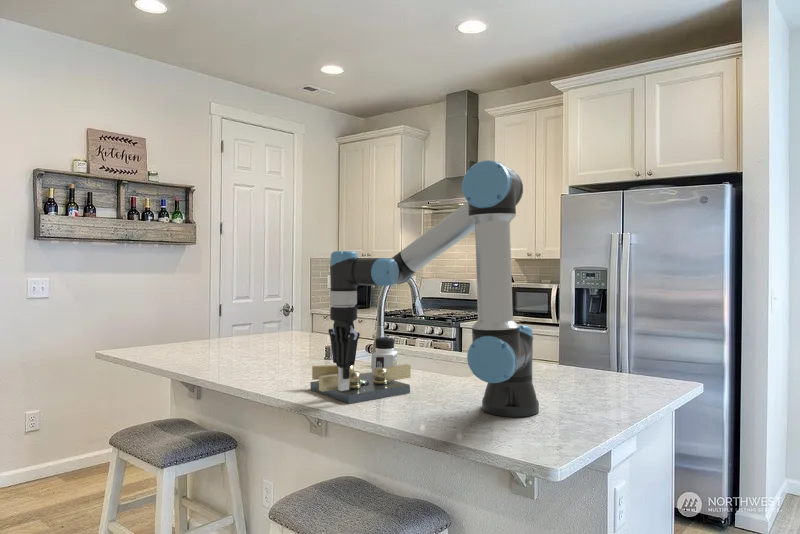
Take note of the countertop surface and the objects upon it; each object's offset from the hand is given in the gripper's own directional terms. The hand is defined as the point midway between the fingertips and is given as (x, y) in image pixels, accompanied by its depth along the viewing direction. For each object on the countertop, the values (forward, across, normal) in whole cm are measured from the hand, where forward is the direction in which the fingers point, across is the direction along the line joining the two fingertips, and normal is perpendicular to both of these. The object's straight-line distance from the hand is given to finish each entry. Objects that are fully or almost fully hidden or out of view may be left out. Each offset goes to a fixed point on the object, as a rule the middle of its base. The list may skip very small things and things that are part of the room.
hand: (343, 389), depth 164 cm
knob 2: (+1, +6, -21) cm, 22 cm away
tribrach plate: (+4, +10, -12) cm, 16 cm away
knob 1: (+1, +6, -3) cm, 7 cm away
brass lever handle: (+1, +19, -8) cm, 21 cm away
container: (+4, +27, -34) cm, 44 cm away
